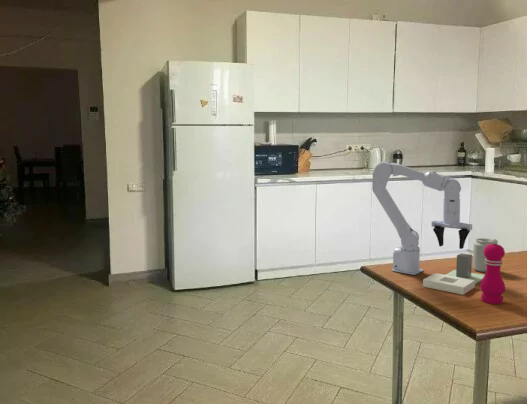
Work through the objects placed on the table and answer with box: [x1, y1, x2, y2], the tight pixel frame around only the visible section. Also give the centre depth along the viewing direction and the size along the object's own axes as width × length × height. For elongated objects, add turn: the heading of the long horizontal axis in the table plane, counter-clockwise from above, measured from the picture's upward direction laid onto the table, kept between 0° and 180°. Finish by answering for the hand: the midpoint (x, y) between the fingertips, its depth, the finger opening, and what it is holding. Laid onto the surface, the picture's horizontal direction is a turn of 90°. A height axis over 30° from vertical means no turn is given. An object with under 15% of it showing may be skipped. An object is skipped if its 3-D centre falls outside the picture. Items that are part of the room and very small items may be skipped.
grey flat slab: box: [422, 272, 476, 296], centre depth 171 cm, size 14×10×2 cm
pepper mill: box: [479, 238, 506, 305], centre depth 155 cm, size 7×7×20 cm
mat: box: [445, 269, 485, 285], centre depth 181 cm, size 12×12×1 cm
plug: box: [455, 252, 473, 279], centre depth 180 cm, size 4×4×8 cm
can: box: [472, 237, 493, 273], centre depth 189 cm, size 8×8×12 cm
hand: (451, 247), depth 184 cm, fingers open, 7 cm apart
